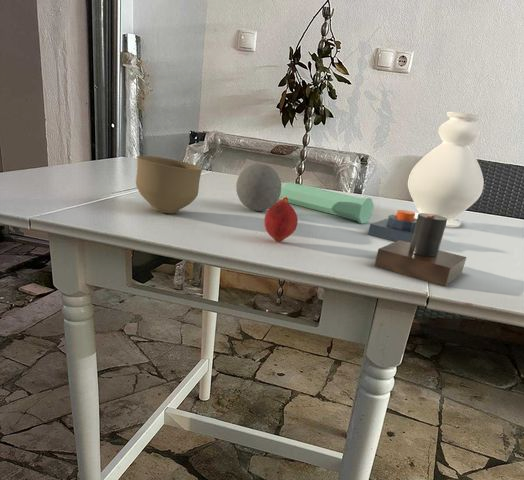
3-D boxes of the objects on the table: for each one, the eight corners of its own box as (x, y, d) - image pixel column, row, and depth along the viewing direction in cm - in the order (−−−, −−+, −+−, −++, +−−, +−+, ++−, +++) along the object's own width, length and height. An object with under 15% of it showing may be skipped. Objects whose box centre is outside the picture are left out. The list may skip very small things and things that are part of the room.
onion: (280, 248, 88) (286, 201, 84) (255, 239, 91) (260, 194, 87) (300, 244, 92) (307, 199, 88) (275, 236, 95) (281, 192, 91)
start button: (415, 221, 106) (417, 212, 105) (409, 223, 103) (411, 214, 102) (399, 217, 107) (401, 209, 107) (393, 219, 105) (395, 210, 104)
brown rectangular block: (461, 274, 87) (466, 257, 85) (445, 286, 79) (450, 268, 78) (395, 256, 92) (399, 240, 91) (374, 266, 84) (378, 248, 83)
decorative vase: (393, 219, 124) (419, 107, 113) (406, 209, 139) (430, 109, 128) (468, 234, 118) (503, 118, 107) (473, 222, 133) (505, 119, 122)
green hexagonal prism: (280, 175, 126) (366, 193, 112) (292, 183, 131) (376, 202, 116) (271, 198, 127) (356, 219, 112) (284, 205, 131) (366, 227, 117)
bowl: (208, 219, 100) (212, 167, 96) (144, 218, 95) (145, 162, 90) (188, 205, 110) (191, 157, 106) (129, 203, 105) (129, 152, 100)
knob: (414, 247, 87) (423, 210, 84) (440, 253, 85) (451, 216, 82) (405, 251, 83) (415, 213, 81) (432, 258, 81) (443, 219, 79)
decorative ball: (244, 203, 120) (248, 158, 115) (284, 211, 117) (290, 165, 113) (227, 209, 111) (231, 161, 107) (269, 218, 108) (275, 169, 104)
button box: (432, 240, 108) (437, 221, 106) (418, 247, 101) (423, 227, 99) (383, 228, 113) (388, 210, 111) (367, 234, 106) (371, 215, 104)
